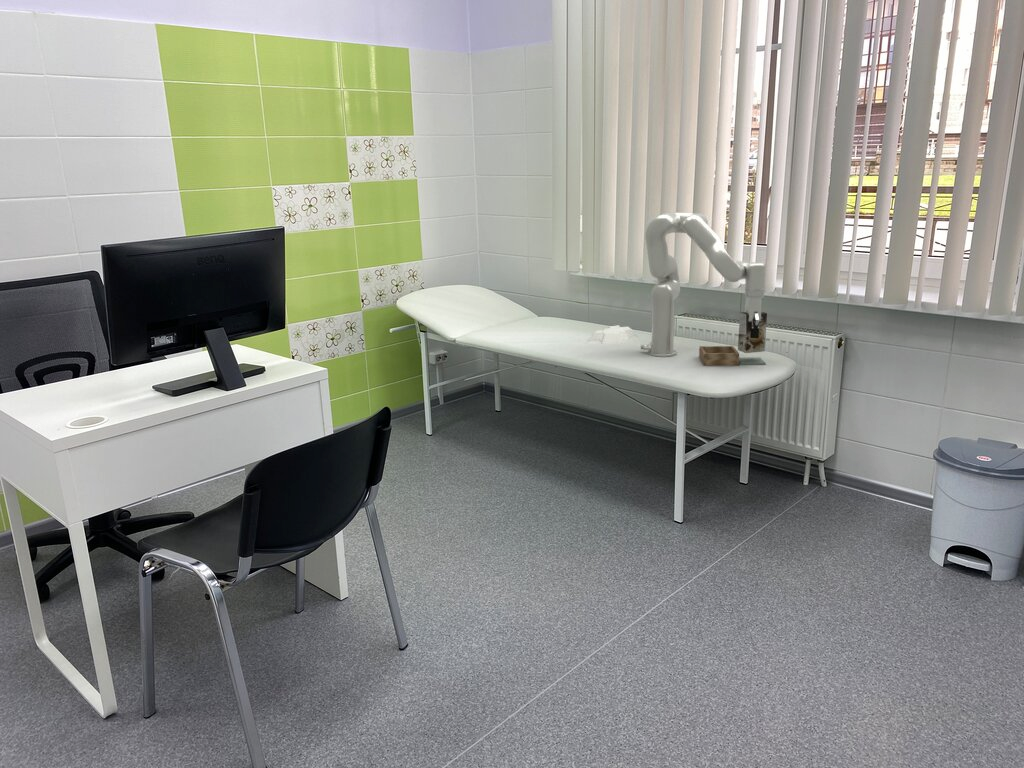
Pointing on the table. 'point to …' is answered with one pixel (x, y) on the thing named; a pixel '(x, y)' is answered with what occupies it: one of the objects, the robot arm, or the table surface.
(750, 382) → the table surface
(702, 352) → the holder
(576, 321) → the table surface
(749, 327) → the coffee box
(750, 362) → the mat
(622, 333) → the paper sheets
